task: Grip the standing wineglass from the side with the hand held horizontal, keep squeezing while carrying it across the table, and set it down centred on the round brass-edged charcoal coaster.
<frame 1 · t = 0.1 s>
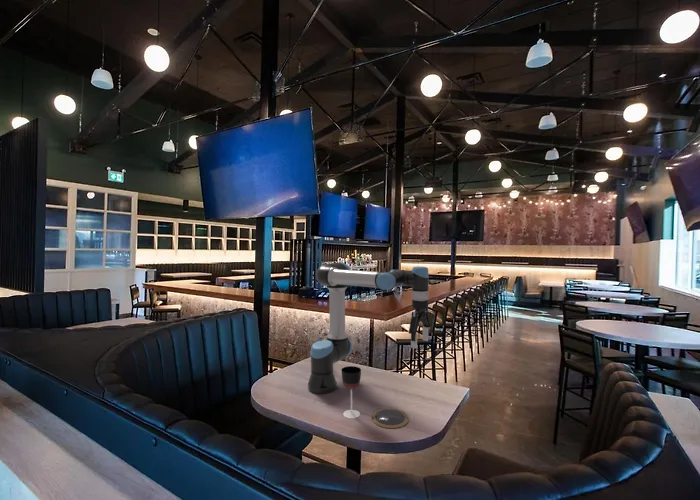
hand: (419, 344, 163), 28 cm above the table, tool pointing down, fingers open, 13 cm apart
wineglass: (351, 414, 154), on the table
cup with straw: (319, 366, 211), on the table
coaster: (389, 418, 150), on the table
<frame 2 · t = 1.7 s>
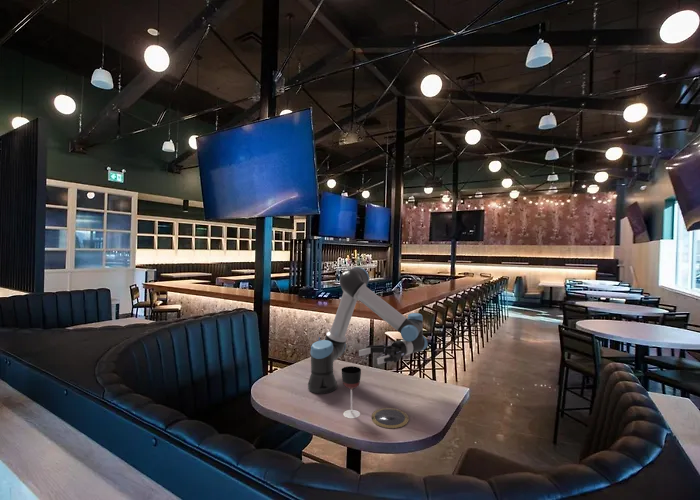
hand: (368, 357, 159), 24 cm above the table, tool horizontal, fingers open, 13 cm apart
nothing on the table moved.
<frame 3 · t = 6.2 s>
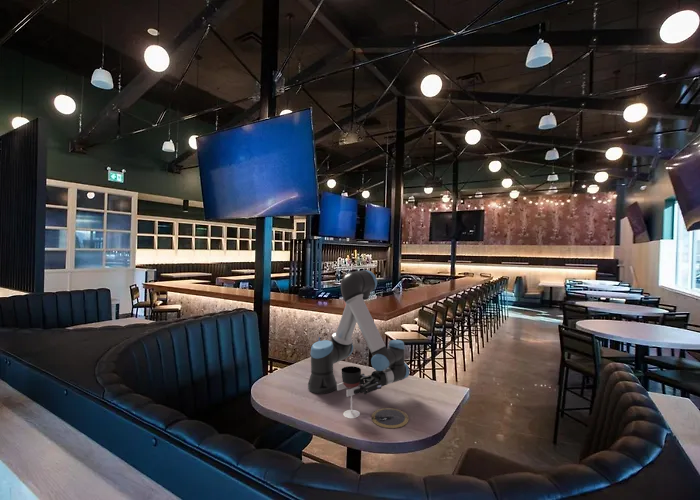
hand: (342, 390, 150), 12 cm above the table, tool horizontal, fingers closed on wineglass, 7 cm apart
wineglass: (351, 414, 154), on the table, touching gripper
everything else where it was.
when the fingers open (13 cm above the table, at t = 11.7 s): wineglass moves 3 cm, resting on coaster.
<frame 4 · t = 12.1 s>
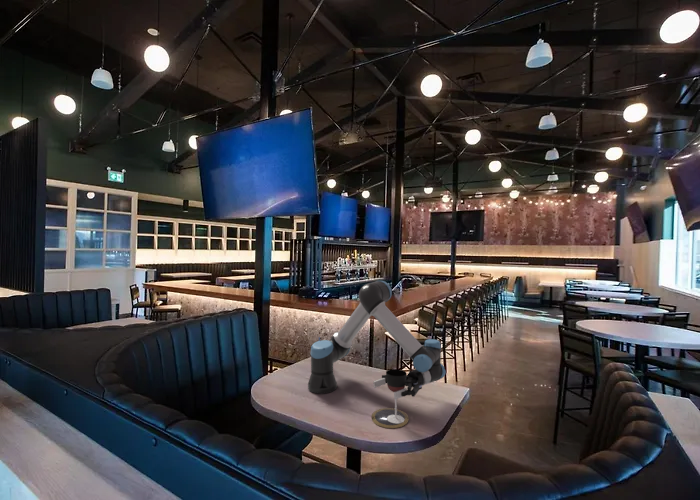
hand: (383, 390, 147), 13 cm above the table, tool horizontal, fingers open, 13 cm apart
wineglass: (395, 419, 148), point 1 cm above the table, touching coaster, gripper
everything else where it was.
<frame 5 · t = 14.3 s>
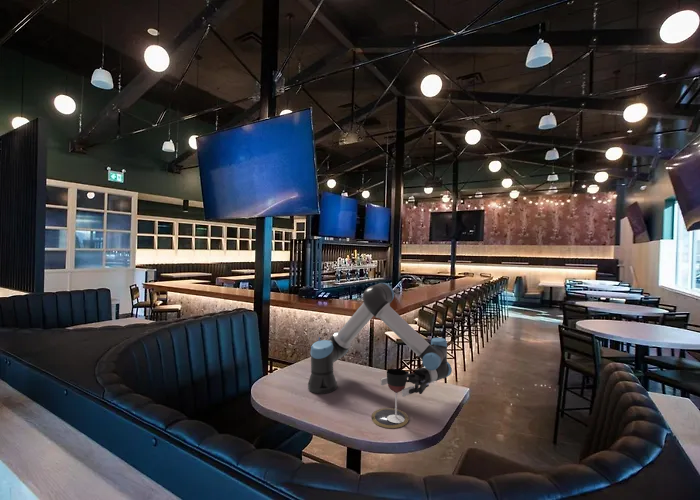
hand: (391, 387, 149), 14 cm above the table, tool horizontal, fingers open, 13 cm apart
wineglass: (395, 419, 148), point 1 cm above the table, touching coaster
everything else where it was.
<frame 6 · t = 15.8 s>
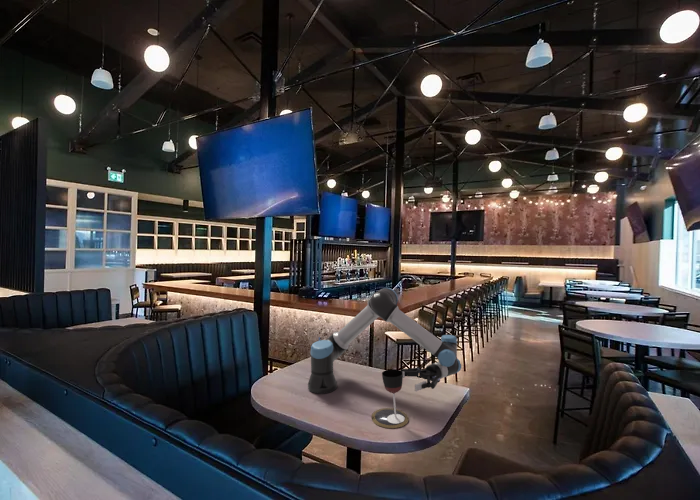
hand: (404, 382, 154), 14 cm above the table, tool horizontal, fingers open, 13 cm apart
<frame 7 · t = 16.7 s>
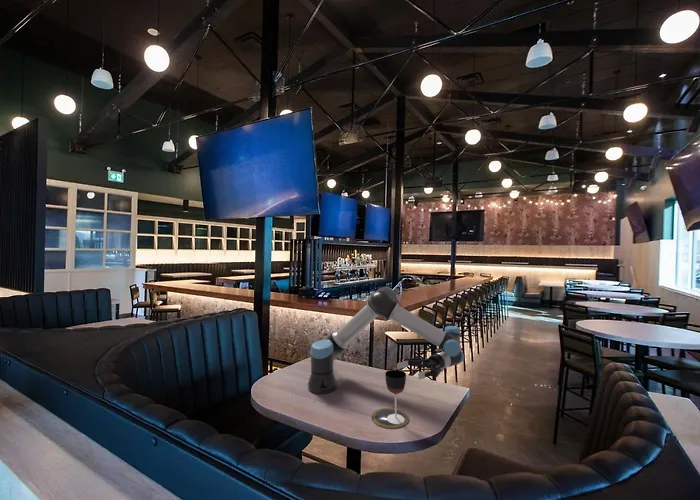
hand: (407, 371, 157), 18 cm above the table, tool horizontal, fingers open, 13 cm apart
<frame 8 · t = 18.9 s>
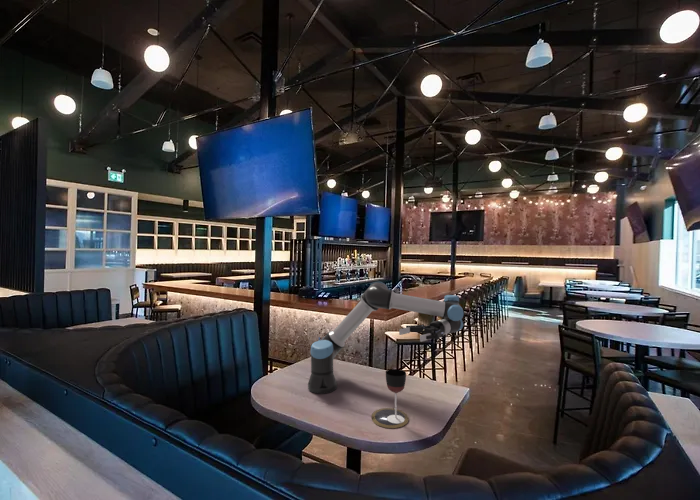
hand: (409, 335, 164), 32 cm above the table, tool horizontal, fingers open, 13 cm apart
at the end: wineglass 3.0 cm from the coaster (horizontally); wineglass tilted 2°; the gripper is holding nothing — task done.
